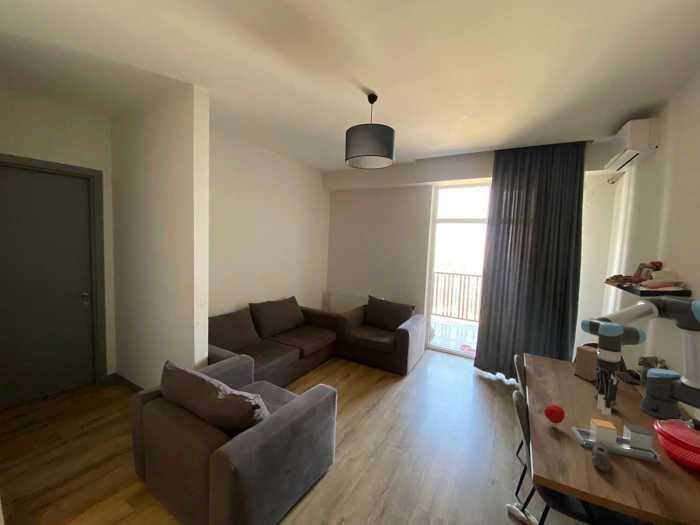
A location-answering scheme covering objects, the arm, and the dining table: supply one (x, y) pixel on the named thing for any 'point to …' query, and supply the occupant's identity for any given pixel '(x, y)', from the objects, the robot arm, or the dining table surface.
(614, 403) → the figurine
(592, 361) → the wooden block
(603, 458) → the perforated stone tool
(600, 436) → the module
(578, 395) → the dining table surface
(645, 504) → the dining table surface
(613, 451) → the rail
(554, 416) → the red round lump
